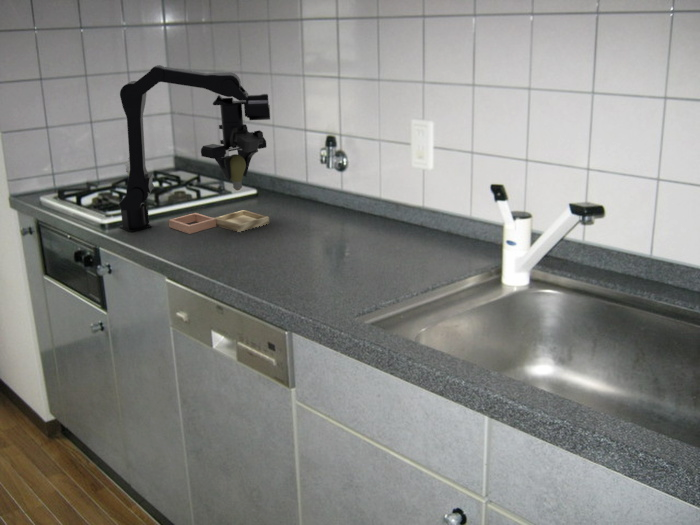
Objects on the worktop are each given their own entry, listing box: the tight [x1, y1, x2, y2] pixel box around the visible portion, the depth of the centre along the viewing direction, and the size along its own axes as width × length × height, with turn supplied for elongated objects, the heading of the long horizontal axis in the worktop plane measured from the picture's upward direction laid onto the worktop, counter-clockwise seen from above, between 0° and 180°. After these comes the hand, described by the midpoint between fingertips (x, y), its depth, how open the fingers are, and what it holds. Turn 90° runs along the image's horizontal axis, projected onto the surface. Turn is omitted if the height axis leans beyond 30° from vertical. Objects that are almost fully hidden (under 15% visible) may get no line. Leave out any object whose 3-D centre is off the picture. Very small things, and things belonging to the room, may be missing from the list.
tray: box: [214, 209, 270, 233], centre depth 217 cm, size 11×11×2 cm
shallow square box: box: [168, 212, 217, 235], centre depth 215 cm, size 9×9×2 cm
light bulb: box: [230, 153, 246, 191], centre depth 212 cm, size 6×6×10 cm
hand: (236, 177), depth 212 cm, fingers closed on light bulb, 5 cm apart
